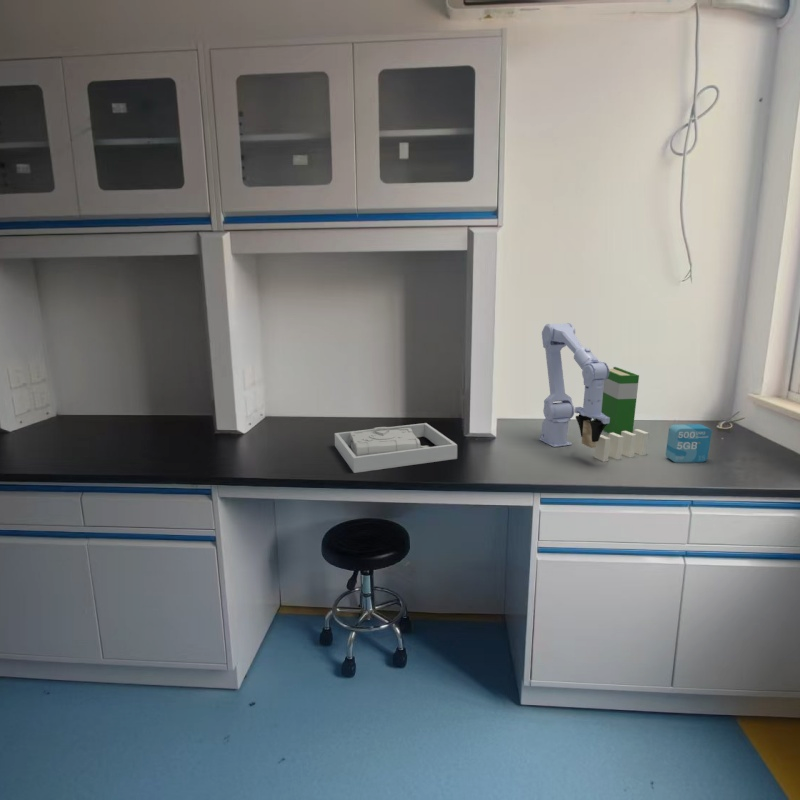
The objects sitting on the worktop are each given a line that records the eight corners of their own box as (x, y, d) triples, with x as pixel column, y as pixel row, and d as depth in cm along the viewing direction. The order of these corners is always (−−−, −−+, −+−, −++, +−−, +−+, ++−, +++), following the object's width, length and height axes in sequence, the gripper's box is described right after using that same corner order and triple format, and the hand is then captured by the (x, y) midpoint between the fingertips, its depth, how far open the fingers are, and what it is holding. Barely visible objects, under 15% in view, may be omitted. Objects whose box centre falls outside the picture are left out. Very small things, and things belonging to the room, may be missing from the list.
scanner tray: (335, 446, 188) (334, 433, 187) (426, 435, 200) (426, 423, 199) (354, 472, 163) (353, 458, 162) (457, 458, 175) (457, 444, 174)
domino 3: (606, 454, 178) (608, 433, 176) (611, 454, 179) (613, 432, 177) (616, 459, 174) (618, 437, 172) (621, 458, 174) (623, 436, 172)
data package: (671, 462, 170) (676, 428, 167) (664, 458, 175) (669, 424, 172) (707, 462, 171) (712, 428, 168) (699, 457, 175) (704, 424, 172)
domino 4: (619, 453, 180) (621, 431, 178) (623, 452, 180) (626, 430, 178) (629, 457, 175) (631, 435, 173) (633, 456, 176) (636, 434, 174)
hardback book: (593, 423, 214) (598, 367, 208) (610, 423, 215) (615, 366, 209) (613, 436, 197) (620, 375, 191) (632, 436, 198) (639, 375, 192)
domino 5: (631, 451, 181) (633, 429, 180) (635, 450, 182) (638, 429, 180) (641, 455, 177) (644, 433, 175) (646, 454, 178) (649, 432, 176)
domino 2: (593, 456, 176) (595, 434, 174) (598, 456, 177) (600, 434, 175) (603, 461, 172) (605, 439, 170) (608, 460, 172) (610, 438, 170)
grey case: (435, 458, 176) (436, 437, 174) (354, 464, 171) (354, 443, 169) (422, 441, 195) (422, 422, 193) (349, 446, 189) (348, 427, 188)
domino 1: (581, 443, 173) (583, 420, 171) (586, 442, 173) (588, 420, 172) (591, 447, 168) (593, 424, 166) (596, 447, 169) (598, 424, 167)
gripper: (568, 395, 172) (565, 433, 176) (598, 405, 159) (594, 447, 163) (585, 393, 175) (582, 431, 178) (616, 403, 162) (612, 444, 165)
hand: (589, 438), depth 170 cm, fingers closed on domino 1, 5 cm apart
